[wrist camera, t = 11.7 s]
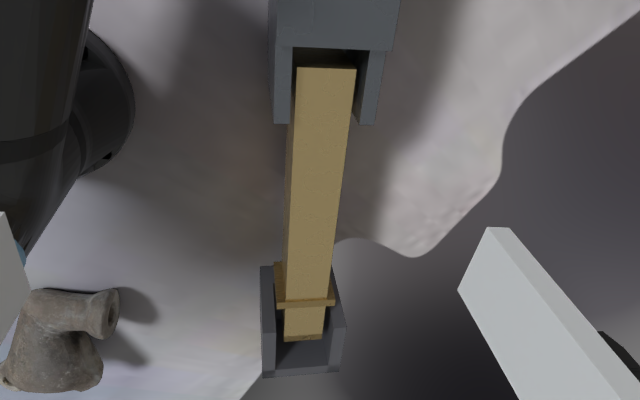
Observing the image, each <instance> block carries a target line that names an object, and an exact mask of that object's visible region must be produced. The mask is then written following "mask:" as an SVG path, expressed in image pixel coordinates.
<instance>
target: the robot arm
mask: <svg viewBox="0 0 640 400" xmlns="http://www.w3.org/2000/svg"><path fill="white" fill-rule="evenodd" d="M93 2H94V0H0V345H1V343H2V342H3V340H4V338H5V336H6V335H7V333H8V331H9V330H10V328H11V326H12V324H13V323H14V321H15V319H16V317H17V316H18V314H19V312H20V311H21V309H22V307H23V305H24V304H25V302H26V300H27V298H28V297H29V295H30V293H31V292H32V291H31V288H30V285H29V282H28V279H27V276H26V273H25V270H24V266H25V264H26V258H27V256H28V255H29V253H30V251H31V250H32V248H33V247H34V245H35V244H36V242H37V241H38V239H39V237H40V236H41V234H42V233H43V231H44V230H45V228H46V226H47V225H48V223H49V222H50V220H51V219H52V217H53V216H54V214H55V212H56V211H57V209H58V208H59V206H60V205H61V203H62V202H63V200H64V198H65V197H66V195H67V194H68V192H69V191H70V189H71V187H72V186H73V184H74V183H75V181H76V179H78V178H80V177H82V176H84V175H86V174H88V173H90V172H92V171H94V170H96V169H98V168H100V167H102V166H103V165H105V164H106V163H108V162H109V161H110V160H111V159H112V158H113V157H114V156H115V155H116V154H117V153H118V152H119V151H120V149H121V148H122V146H123V145H124V143H125V141H126V139H127V138H128V136H129V134H130V132H131V129H132V126H133V123H134V117H135V100H134V94H133V90H132V87H131V84H130V81H129V79H128V76H127V74H126V72H125V70H124V69H123V67H122V65H121V64H120V62H119V61H118V59H117V58H116V57H115V55H114V54H113V53H112V52H111V50H110V49H109V48H108V47H107V46H106V45H105V44H104V43H103V42H102V41H101V40H100V39H99V38H98V37H97V36H95V35H94V34H93V33H92V32H90V31H89V30H88V27H89V22H90V17H91V12H92V7H93ZM458 292H459V294H460V295H461V297H462V299H463V301H464V302H465V304H466V306H467V308H468V310H469V311H470V313H471V315H472V317H473V318H474V320H475V322H476V324H477V325H478V327H479V329H480V331H481V332H482V334H483V336H484V338H485V340H486V341H487V343H488V345H489V346H490V348H491V350H492V352H493V354H494V356H495V357H496V359H497V361H498V363H499V364H500V366H501V368H502V370H503V371H504V373H505V375H506V376H507V378H508V380H509V382H510V384H511V386H512V387H513V389H514V391H515V393H516V394H517V396H518V398H519V400H640V366H639V365H638V363H637V362H636V361H635V360H634V359H633V358H632V357H631V355H630V354H629V353H628V352H627V351H626V350H625V349H624V348H623V347H622V346H621V345H619V344H618V343H617V342H616V341H614V340H613V339H612V338H610V337H609V336H608V335H606V334H605V333H604V332H603V331H596V330H595V329H594V328H593V326H592V325H591V324H590V323H589V322H588V321H587V320H586V318H585V317H584V316H583V315H582V313H581V312H580V311H579V310H578V309H577V308H576V306H575V305H574V304H573V303H572V302H571V300H570V299H569V298H568V297H567V296H566V295H565V293H564V292H563V291H562V290H561V289H560V288H559V286H558V285H557V284H556V283H555V282H554V281H553V279H552V278H551V277H550V276H549V274H548V273H547V272H546V271H545V270H544V269H543V267H542V266H541V265H540V264H539V263H538V262H537V260H536V259H535V258H534V257H533V256H532V254H531V253H530V252H529V251H528V250H527V248H526V247H525V246H524V245H523V244H522V243H521V241H520V240H519V239H518V238H517V237H516V235H515V234H514V233H513V232H512V231H511V230H510V228H501V227H487V228H486V230H485V233H484V235H483V237H482V239H481V241H480V243H479V245H478V247H477V250H476V251H475V254H474V256H473V258H472V260H471V262H470V264H469V266H468V268H467V271H466V273H465V275H464V277H463V279H462V281H461V284H460V285H459V287H458Z"/></svg>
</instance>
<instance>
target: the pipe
mask: <svg viewBox="0 0 640 400" xmlns="http://www.w3.org/2000/svg"><path fill="white" fill-rule="evenodd" d="M119 301H120V299H119V294H118V291H117V290H116V289H107V290H103V291H100V292H97V293H96V294H80V293H69V292H64V291H59V290H52V289H35V290H33V291H32V292H31V293H30V295H29V297H28V298H27V300H26V302H25V304H24V305H23V307H22V309H21V311H20V315H19V318H18V322H17V326H16V330H15V334H14V337H13V341H12V344H11V348H10V351H9V354H8V356H7V359H6V360H4V361H3V362H1V363H0V384H1V385H2V386H4V387H5V388H6V389H9V390H11V391H21V390H22V391H26V392H35V393H59V392H65V391H71V390H77V391H80V392H82V391H85V390H88V389H90V388H91V387H94V386H96V385H97V384H98V383H99V382H100V380H101V378H102V374H103V367H104V364H103V361H102V359H101V357H100V355H99V353H98V352H97V350H96V348H95V346H94V344H93V343H92V341H91V339H90V338H89V336H88V335H87V333H86V332H88V333H89V334H90V335H91V336H93V337H94V338H97V339H101V340H103V339H107V338H109V337H110V336H111V335H112V334H113V332H114V330H115V328H116V325H117V322H118V318H119V309H120V305H119ZM85 331H86V332H85Z"/></svg>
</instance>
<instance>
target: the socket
mask: <svg viewBox="0 0 640 400" xmlns="http://www.w3.org/2000/svg"><path fill="white" fill-rule="evenodd" d="M330 278H331V282H332V287H333V291H334V295H335V299H336V300H335V306H326V308H325V316H324V323H323V331H322V339H317V340H303V341H290V342H284V340H283V328H282V317H281V309H277V306H276V293H275V280H274V266H265V267H260V324H261V352H262V378H273V377H283V376H295V375H306V374H318V373H328V372H339V368H340V363H341V358H342V352H343V346H344V341H345V335H346V330H347V326H346V322H345V318H344V314H343V310H342V306H341V301H340V297H339V294H338V289H337V285H336V281H335V277H334V273H333V269H332V265H331V270H330Z"/></svg>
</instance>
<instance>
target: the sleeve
mask: <svg viewBox="0 0 640 400" xmlns="http://www.w3.org/2000/svg"><path fill="white" fill-rule="evenodd" d="M400 2H401V0H268V85H269V92H270V100H271V107H272V115H273V122H274V124H290V100H291V76H292V52H293V47H312V48H334V49H342V50H343V51H344V53H345V54H346V56H347V57H348V58H349V60H350V61H351V62H352V64H353V65H354V67H355V68H356V69H357V71H356V78H355V86H354V94H353V101H352V109H351V111H352V113H353V114H354V116H355V118H356V120H357V122H358V124H359V125H374V122H375V116H376V110H377V104H378V98H379V92H380V86H381V80H382V74H383V68H384V62H385V56H386V51H392V48H393V42H394V37H395V31H396V25H397V19H398V14H399V8H400Z"/></svg>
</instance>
